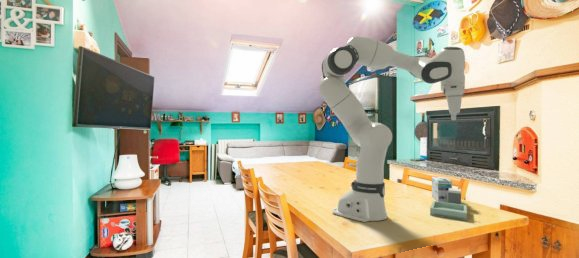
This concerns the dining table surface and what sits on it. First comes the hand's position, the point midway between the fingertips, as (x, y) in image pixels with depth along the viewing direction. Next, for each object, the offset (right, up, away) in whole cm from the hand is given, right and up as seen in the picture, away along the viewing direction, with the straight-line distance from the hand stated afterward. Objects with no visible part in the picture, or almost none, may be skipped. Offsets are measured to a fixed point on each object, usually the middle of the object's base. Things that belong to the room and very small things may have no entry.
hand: (452, 115), depth 121 cm
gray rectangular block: (+5, -42, +7) cm, 43 cm away
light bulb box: (+6, -42, +19) cm, 47 cm away
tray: (-4, -42, -3) cm, 43 cm away
